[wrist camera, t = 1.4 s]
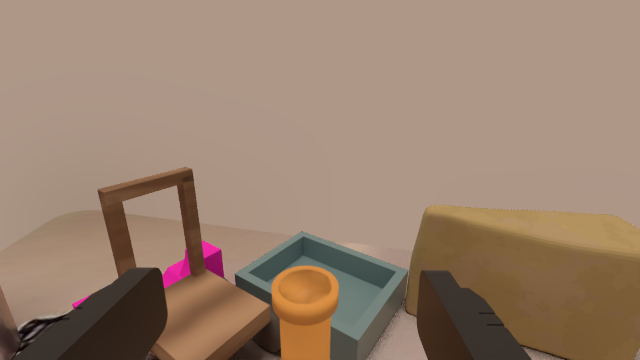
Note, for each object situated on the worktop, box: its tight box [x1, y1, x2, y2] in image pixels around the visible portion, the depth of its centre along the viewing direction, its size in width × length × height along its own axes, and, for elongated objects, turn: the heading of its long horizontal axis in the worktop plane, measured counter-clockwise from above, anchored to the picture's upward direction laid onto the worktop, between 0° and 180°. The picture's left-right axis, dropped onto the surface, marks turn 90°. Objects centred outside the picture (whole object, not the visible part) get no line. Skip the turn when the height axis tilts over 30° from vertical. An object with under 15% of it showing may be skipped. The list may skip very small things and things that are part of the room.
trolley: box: [98, 167, 281, 360], centre depth 30 cm, size 13×12×20 cm
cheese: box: [405, 205, 640, 360], centre depth 36 cm, size 22×10×15 cm, turn 76°
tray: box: [235, 231, 408, 360], centre depth 41 cm, size 18×14×4 cm
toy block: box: [72, 241, 224, 310], centre depth 37 cm, size 15×6×8 cm, turn 145°
